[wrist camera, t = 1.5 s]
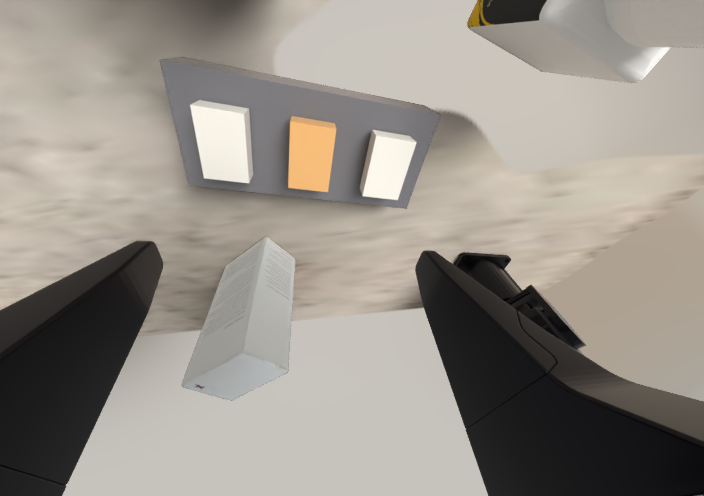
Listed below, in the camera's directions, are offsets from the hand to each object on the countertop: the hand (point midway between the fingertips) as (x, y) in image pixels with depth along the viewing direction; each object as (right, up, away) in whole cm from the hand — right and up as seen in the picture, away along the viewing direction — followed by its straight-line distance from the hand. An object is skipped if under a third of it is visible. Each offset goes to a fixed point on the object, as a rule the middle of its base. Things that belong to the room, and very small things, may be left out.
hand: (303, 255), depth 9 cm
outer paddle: (-6, +7, +7) cm, 11 cm away
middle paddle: (-1, +7, +8) cm, 10 cm away
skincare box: (-8, -1, +17) cm, 19 cm away
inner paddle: (+4, +6, +9) cm, 12 cm away
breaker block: (-1, +9, +10) cm, 13 cm away
